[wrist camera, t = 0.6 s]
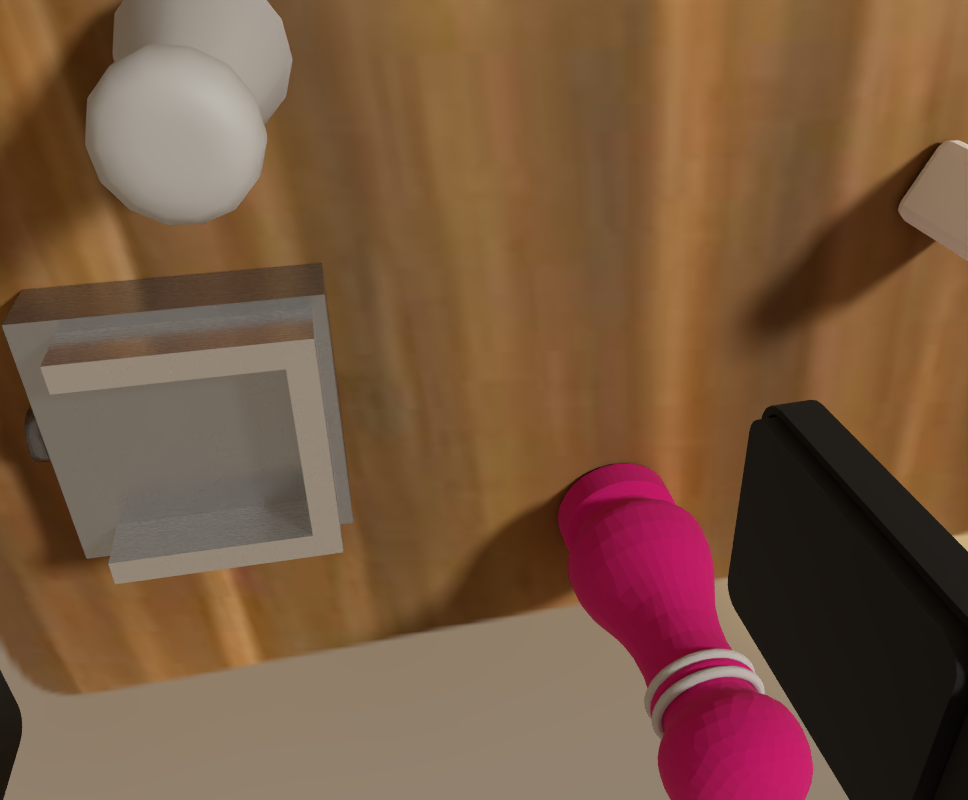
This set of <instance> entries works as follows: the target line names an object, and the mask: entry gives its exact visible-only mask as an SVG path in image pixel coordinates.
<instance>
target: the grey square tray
mask: <svg viewBox="0 0 968 800" xmlns="http://www.w3.org/2000/svg"><path fill="white" fill-rule="evenodd" d="M2 328H3V330H4V333H5V336H6V339H7V341H8V344H9V347H10V350H11V352H12V355H13V358H14V361H15V363H16V366H17V369H18V372H19V374H20V377H21V380H22V383H23V385H24V388H25V391H26V394H27V396H28V399H29V402H30V405H31V407H30V408H29V409H28V411H27V414H26V419H25V434H26V441H27V445H28V449H29V451H30V454H31V456H32V458H33V459H34V460H35V461H36V462H46V461H51V462H52V465H53V468H54V471H55V473H56V476H57V479H58V482H59V484H60V487H61V490H62V493H63V495H64V498H65V501H66V504H67V506H68V509H69V512H70V515H71V517H72V520H73V523H74V526H75V528H76V531H77V534H78V537H79V539H80V542H81V545H82V548H83V550H84V553H85V556H86V559H89V558H97V557H104V556H110V559H109V563H108V564H109V567H110V570H111V573H112V576H113V579H114V582H115V584H120V583H127V582H134V581H141V580H148V579H156V578H163V577H170V576H177V575H184V574H191V573H198V572H205V571H213V570H220V569H227V568H234V567H241V566H248V565H255V564H263V563H270V562H277V561H284V560H291V559H298V558H305V557H313V556H320V555H327V554H334V553H341V552H343V541H342V528H341V524H348V523H353V514H352V504H351V494H350V485H349V476H348V468H347V460H346V452H345V444H344V436H343V428H342V420H341V413H340V405H339V397H338V389H337V381H336V373H335V365H334V357H333V349H332V341H331V333H330V325H329V317H328V309H327V301H326V293H325V285H324V277H323V269H322V263H319V264H307V265H296V266H285V267H274V268H263V269H252V270H241V271H229V272H218V273H207V274H196V275H185V276H174V277H163V278H151V279H140V280H129V281H118V282H107V283H96V284H85V285H73V286H62V287H51V288H40V289H29V290H21V292H20V294H19V295H18V297H17V299H16V301H15V302H14V304H13V306H12V308H11V310H10V311H9V313H8V315H7V317H6V318H5V320H4V322H3V324H2Z"/></svg>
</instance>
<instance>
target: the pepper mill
mask: <svg viewBox="0 0 968 800" xmlns="http://www.w3.org/2000/svg"><path fill="white" fill-rule="evenodd" d="M558 525H559V528H560V532H561V534H562V537H563V539H564V542H565V544H566V546H567V549H568V551H569V552H570V555H569V559H568V575H569V579H570V583H571V585H572V587H573V589H574V591H575V594H576V596H577V598H578V600H579V602H580V603H581V605H582V607H583V608H584V609H585V610H586V611H587V613H588V614H589V615H590V616H591V617H592V619H593V620H594V621H595V622H597V623H598V624H599V625H600V626H601V627H602V628H604V629H605V630H606V631H607V632H609V633H610V634H611V635H612V636H614V637H615V638H616V639H617V640H618V641H619V642H620V643H621V644H622V645H623V646H624V647H625V648H626V649H627V651H628V652H629V653H630V654H631V656H632V657H633V658H634V660H635V662H636V664H637V666H638V667H639V669H640V671H641V673H642V674H643V676H644V679H645V682H646V685H647V691H646V694H645V699H644V703H645V709H646V712H647V714H648V716H649V717H650V718H651V719H652V726H653V729H654V731H655V733H656V734H657V736H658V737H659V738H660V739H662V740H661V743H660V747H659V753H658V767H659V772H660V776H661V779H662V782H663V785H664V788H665V790H666V792H667V794H668V796H669V797H670V799H671V800H805V798H806V796H807V793H808V791H809V789H810V786H811V783H812V775H813V763H812V756H811V751H810V746H809V743H808V741H807V739H806V736H805V734H804V732H803V729H802V728H801V726H800V724H799V723H798V721H797V720H796V719H795V717H794V715H793V714H792V713H791V712H790V711H789V710H788V709H787V708H786V707H785V706H784V705H783V704H782V703H781V702H779V701H777V700H774V699H773V698H771V697H769V696H767V695H765V694H764V686H763V683H762V681H761V680H760V678H759V677H758V676H757V675H756V674H755V671H754V667H753V665H752V664H751V662H750V661H749V660H748V659H747V658H746V657H745V656H744V655H742V654H740V653H738V652H736V651H733V650H732V649H731V647H730V646H729V644H728V643H727V641H726V639H725V636H724V634H723V632H722V629H721V627H720V624H719V621H718V616H717V612H716V607H715V591H714V589H715V587H714V566H713V561H712V556H711V551H710V547H709V544H708V542H707V540H706V538H705V535H704V533H703V531H702V529H701V527H700V525H699V524H698V522H697V521H696V520H695V519H694V517H693V516H692V515H691V514H690V513H689V512H687V511H686V510H684V509H683V508H681V507H679V506H677V505H675V502H674V500H673V498H672V496H671V495H670V493H669V491H668V489H667V488H666V486H665V484H664V483H663V481H662V479H661V478H660V477H659V476H658V475H657V474H656V473H655V472H654V471H652V470H650V469H649V468H646V467H644V466H640V465H636V464H630V463H621V464H611V465H608V466H604V467H600V468H598V469H596V470H594V471H592V472H590V473H588V474H586V475H585V476H583V477H582V478H581V479H580V480H578V481H577V482H576V483H575V484H574V485H573V486H572V487H571V488H570V489H569V490H568V492H567V493H566V495H565V496H564V498H563V500H562V502H561V504H560V507H559V512H558Z"/></svg>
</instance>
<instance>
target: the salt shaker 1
mask: <svg viewBox="0 0 968 800" xmlns="http://www.w3.org/2000/svg"><path fill="white" fill-rule="evenodd" d="M112 55H113V59H114V63H113V64H111V65H110V66H109V67H108V69H107V70H106V72H105V73H104V74H103V76H102V77H101V79H100V80H99V82H98V83H97V85H96V86H95V88H94V89H93V90H92V92H91V93H90V95H89V96H88V98H87V113H86V133H85V146H86V149H87V151H88V154H89V156H90V158H91V161H92V163H93V166H94V168H95V171H96V173H97V175H98V178H99V180H100V182H101V183H102V184H103V185H104V186H105V187H106V188H107V189H108V190H109V191H110V192H111V193H112V194H114V195H115V196H116V197H117V198H118V199H119V200H120V201H121V202H122V203H123V204H124V205H125V206H126V207H127V208H129V209H130V210H132V211H134V212H137V213H139V214H142V215H144V216H146V217H149V218H151V219H154V220H156V221H158V222H161V223H163V224H166V225H177V224H205V223H207V222H209V221H211V220H213V219H216V218H218V217H220V216H222V215H224V214H227V213H229V212H231V211H233V210H235V209H236V208H237V207H238V205H239V204H240V203H241V201H242V200H243V199H244V197H245V196H246V195H247V193H248V192H249V191H250V189H251V188H252V187H253V185H254V184H255V183H256V181H257V180H258V179H259V177H260V176H261V171H262V166H263V160H264V155H265V149H266V143H267V133H266V129H265V124H266V123H267V122H268V120H269V119H270V118H271V116H272V115H273V114H274V112H275V111H276V110H277V108H278V107H279V105H280V104H281V103H282V101H283V100H284V99H285V97H286V94H287V88H288V82H289V77H290V71H291V65H292V56H291V52H290V48H289V45H288V41H287V37H286V34H285V30H284V26H283V23H282V19H281V18H280V17H279V15H278V14H277V13H276V12H275V10H274V9H273V8H272V7H271V5H270V4H269V3H268V1H267V0H123V1H122V3H121V4H120V6H119V7H118V9H117V10H116V12H115V13H114V32H113V53H112Z"/></svg>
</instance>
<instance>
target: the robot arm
mask: <svg viewBox="0 0 968 800" xmlns="http://www.w3.org/2000/svg"><path fill="white" fill-rule="evenodd" d="M728 590H729V595H730V599H731V602H732V605H733V606H734V609H735V611H736V612H737V613H738V615H739V617H740V619H741V620H742V622H743V624H744V625H745V627H746V629H747V630H748V632H749V634H750V635H751V637H752V639H753V640H754V642H755V644H756V645H757V647H758V649H759V650H760V652H761V654H762V655H763V657H764V658H765V660H766V662H767V663H768V665H769V667H770V669H771V670H772V672H773V674H774V675H775V677H776V679H777V680H778V682H779V684H780V685H781V687H782V688H783V690H784V692H785V693H786V695H787V697H788V698H789V700H790V702H791V703H792V705H793V707H794V708H795V710H796V712H797V713H798V715H799V717H800V718H801V720H802V722H803V723H804V725H805V727H806V728H807V730H808V732H809V733H810V735H811V736H812V738H813V740H814V742H815V743H816V745H817V747H818V748H819V750H820V752H821V753H822V755H823V757H824V758H825V760H826V762H827V763H828V765H829V766H830V768H831V770H832V772H833V773H834V775H835V777H836V778H837V780H838V782H839V783H840V785H841V786H842V788H843V790H844V791H845V793H846V795H847V796H848V798H849V800H968V552H967V550H966V549H965V548H964V547H962V545H961V544H959V543H958V541H957V540H956V539H955V538H954V537H953V536H952V535H951V534H950V533H949V532H948V531H947V530H946V529H945V528H944V527H943V526H942V525H941V524H940V523H939V522H938V521H937V520H936V519H935V518H934V517H933V516H932V515H931V514H930V513H929V512H928V511H927V510H926V509H925V508H924V507H923V506H922V505H921V504H920V503H919V502H918V501H917V500H916V499H915V498H914V497H913V496H912V495H911V494H910V493H909V492H908V491H907V490H906V489H905V488H904V487H903V486H902V485H901V484H900V483H899V482H898V481H897V480H896V479H895V478H894V477H893V476H892V475H891V474H890V473H889V472H888V471H887V469H886V468H885V467H884V466H883V465H882V464H881V463H880V462H879V461H878V460H877V459H876V458H875V457H874V456H873V455H872V454H871V453H870V452H869V451H868V450H867V449H866V448H865V447H864V446H863V445H862V444H861V443H860V442H859V441H858V440H857V439H856V438H855V437H854V436H853V435H852V434H851V433H850V432H849V431H848V430H847V429H846V428H845V427H844V426H843V425H842V424H841V423H840V422H839V421H838V420H837V419H836V418H835V417H834V416H833V415H832V414H831V413H830V412H829V411H828V410H827V409H826V408H825V407H824V406H823V405H822V404H821V403H819V402H818V401H815V400H807V401H800V402H794V403H787V404H780V405H774V406H770V407H768V408H766V410H765V411H764V413H763V415H762V419H760V420H756V421H754V422H753V423H752V425H751V428H750V432H749V439H748V445H747V452H746V459H745V466H744V473H743V479H742V486H741V493H740V500H739V507H738V514H737V520H736V527H735V534H734V541H733V548H732V554H731V561H730V568H729V575H728ZM21 735H22V718H21V713H20V709H19V707H18V704H17V702H16V700H15V698H14V696H13V694H12V693H11V691H10V688H9V687H8V684H7V682H6V681H5V679H4V677H3V675H2V673H1V671H0V800H3V798H4V795H5V791H6V788H7V785H8V781H9V778H10V774H11V771H12V768H13V764H14V761H15V758H16V754H17V751H18V748H19V744H20V740H21Z"/></svg>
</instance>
